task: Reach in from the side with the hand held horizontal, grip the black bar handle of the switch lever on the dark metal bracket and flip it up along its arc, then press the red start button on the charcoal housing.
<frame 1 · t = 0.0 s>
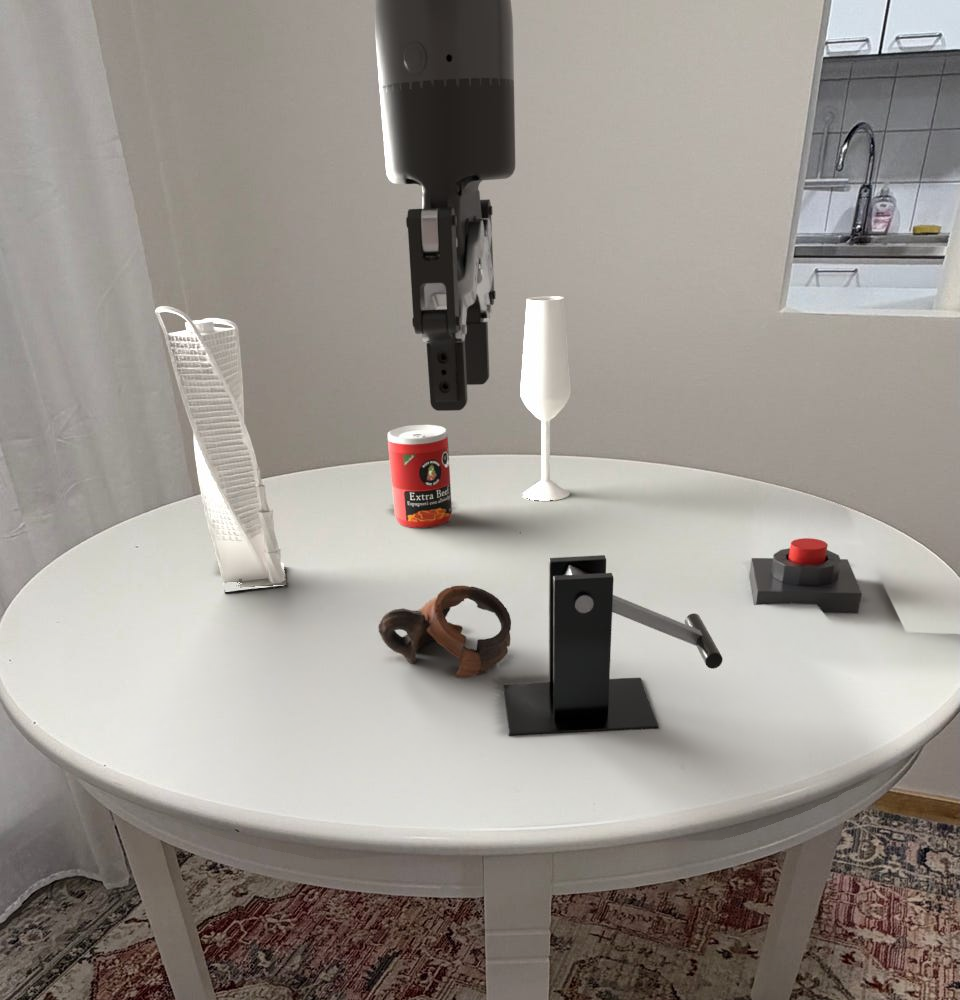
hand: (462, 395, 62), 26 cm above the table, tool pointing down, fingers open, 8 cm apart
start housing: (800, 595, 100), on the table
brown curved ring piece: (447, 668, 89), on the table
start button: (807, 552, 97), point 5 cm above the table, slide at 0.2 cm
champagne flute: (545, 495, 134), on the table
skyscraper: (249, 580, 111), on the table
switch lever: (638, 613, 75), point 9 cm above the table, hinge at -25.0°
switch bracket: (577, 716, 80), on the table
canned food: (424, 520, 127), on the table
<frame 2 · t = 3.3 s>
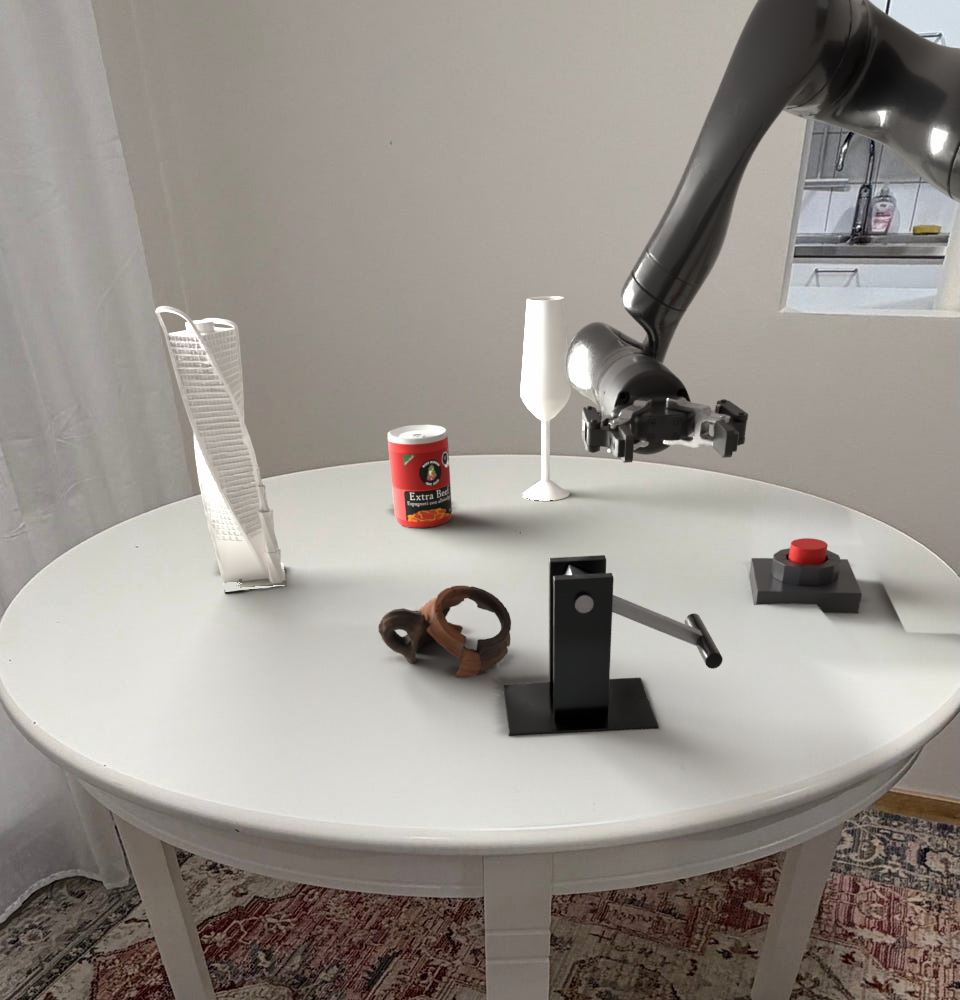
hand: (679, 447, 80), 18 cm above the table, tool horizontal, fingers open, 8 cm apart
nothing on the table moved.
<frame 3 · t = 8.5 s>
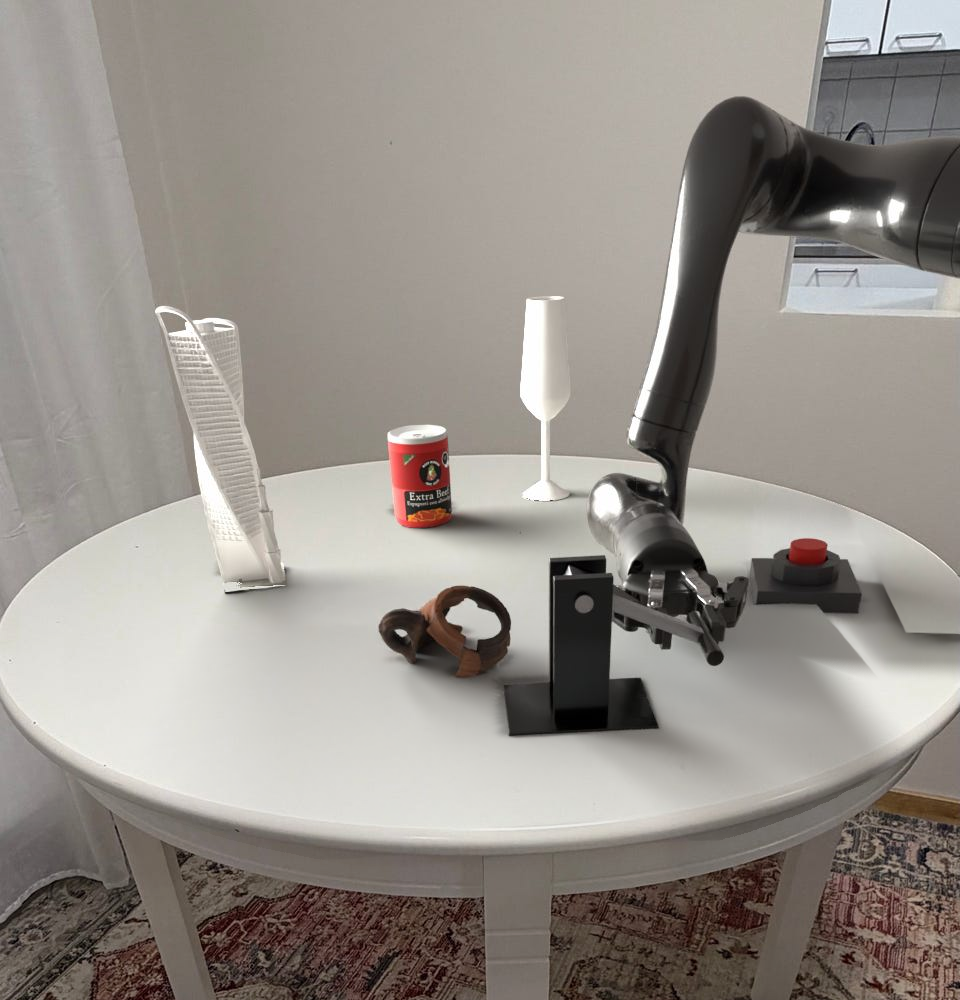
hand: (691, 637, 77), 6 cm above the table, tool horizontal, fingers closed on switch lever, 3 cm apart
switch lever: (638, 612, 75), point 9 cm above the table, hinge at -23.8°, touching gripper
everything else where it was.
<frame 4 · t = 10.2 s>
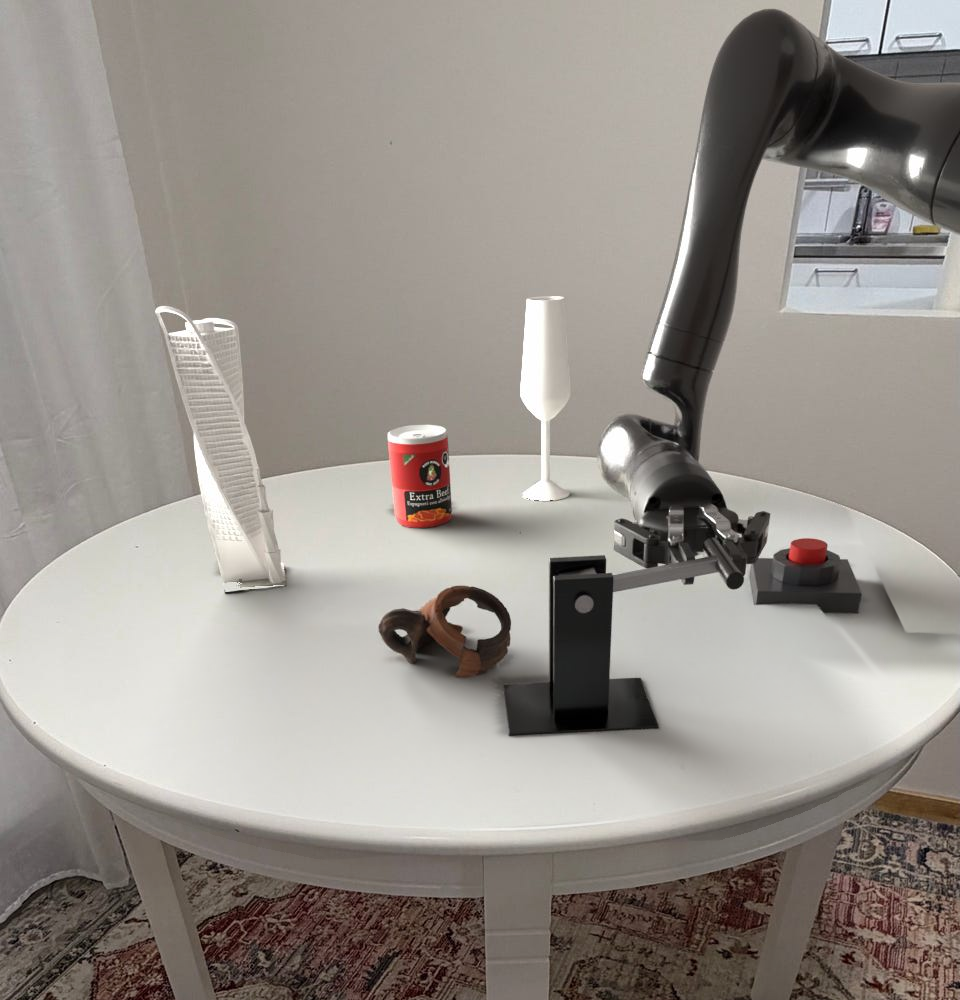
hand: (713, 571, 74), 12 cm above the table, tool horizontal, fingers open, 3 cm apart
switch lever: (645, 577, 73), point 12 cm above the table, hinge at 8.4°, touching gripper
everything else where it was.
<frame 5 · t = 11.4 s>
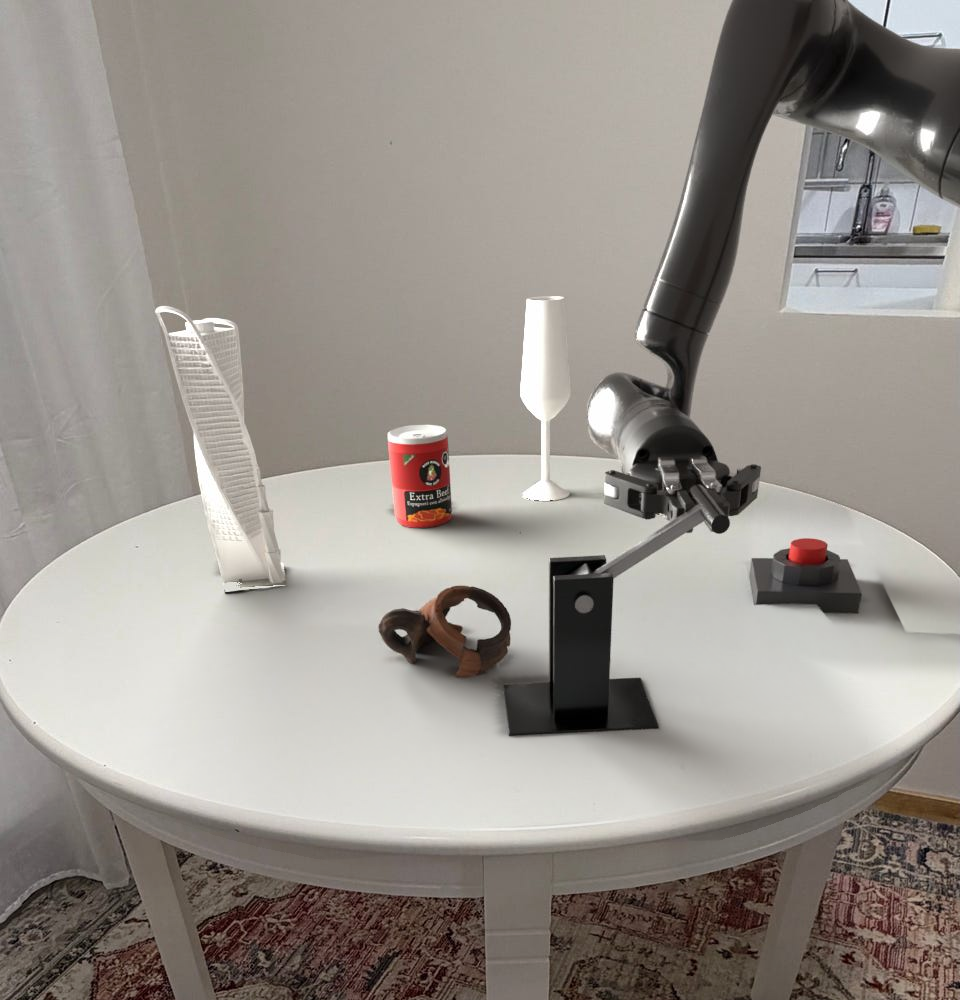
hand: (703, 519, 71), 16 cm above the table, tool horizontal, fingers closed, pressing on switch lever
switch lever: (638, 552, 72), point 14 cm above the table, hinge at 31.4°, touching gripper
everything else where it was.
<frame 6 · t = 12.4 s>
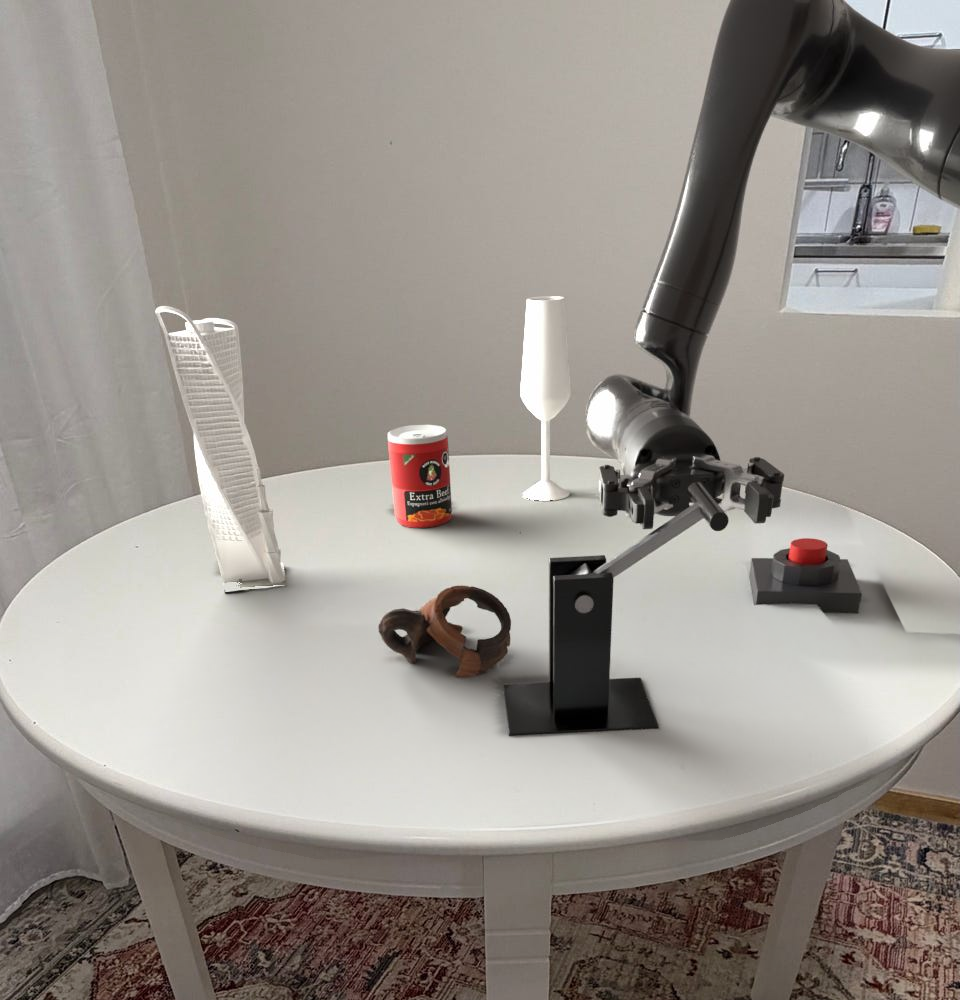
hand: (706, 513, 72), 16 cm above the table, tool horizontal, fingers open, 8 cm apart
switch lever: (637, 551, 72), point 14 cm above the table, hinge at 32.6°
everything else where it was.
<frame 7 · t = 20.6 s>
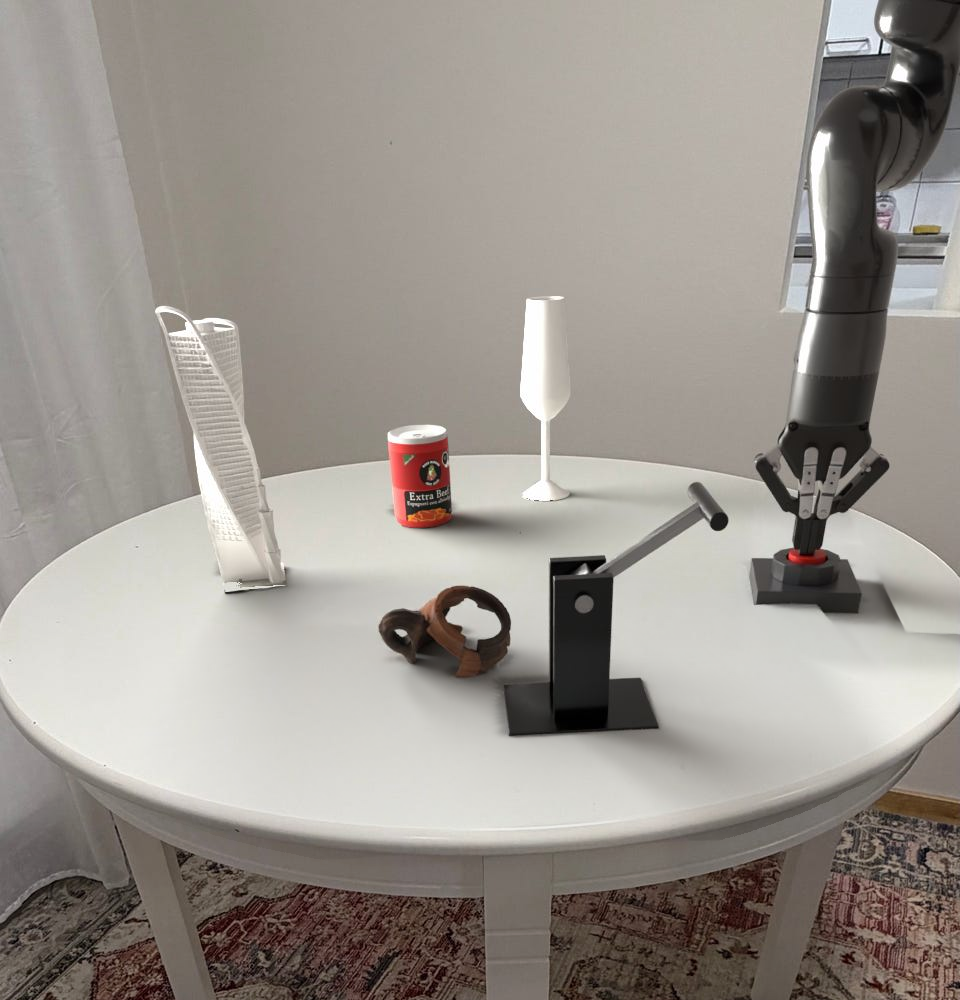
hand: (805, 553, 97), 4 cm above the table, tool pointing down, fingers closed
start button: (806, 561, 98), point 4 cm above the table, slide at -0.8 cm, touching gripper
everything else where it was.
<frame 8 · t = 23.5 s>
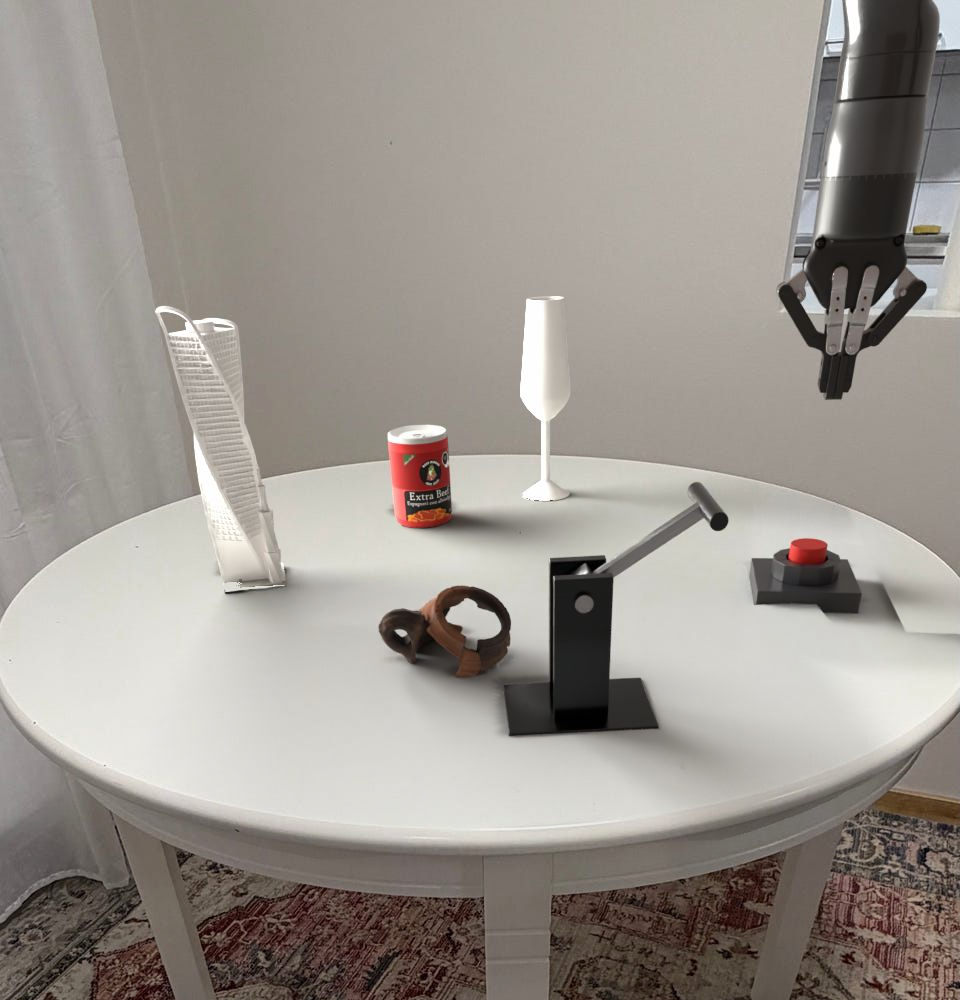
hand: (832, 397, 89), 19 cm above the table, tool pointing down, fingers closed
start button: (807, 552, 97), point 5 cm above the table, slide at 0.2 cm
everything else where it was.
at the end: switch lever at +33° (first picture: -25°); start button pushed in 1.1 cm at the most during the clip, back to 0.2 cm at the end; start button slide at 0.2 cm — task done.
